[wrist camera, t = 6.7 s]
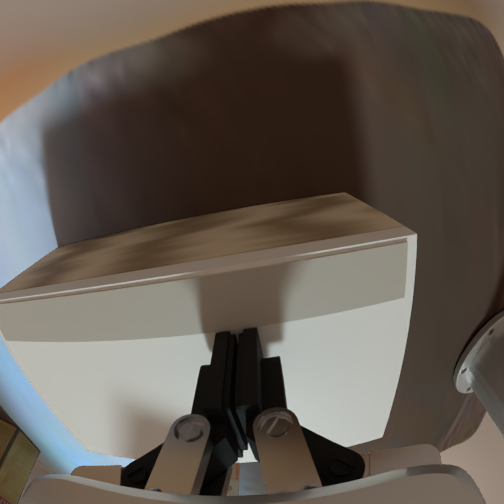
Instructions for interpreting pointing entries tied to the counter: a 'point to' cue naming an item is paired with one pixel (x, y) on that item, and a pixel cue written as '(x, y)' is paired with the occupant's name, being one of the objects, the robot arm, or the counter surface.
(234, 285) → the lid
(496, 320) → the robot arm
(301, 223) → the storage box
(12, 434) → the food packaging
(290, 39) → the counter surface
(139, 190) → the counter surface
